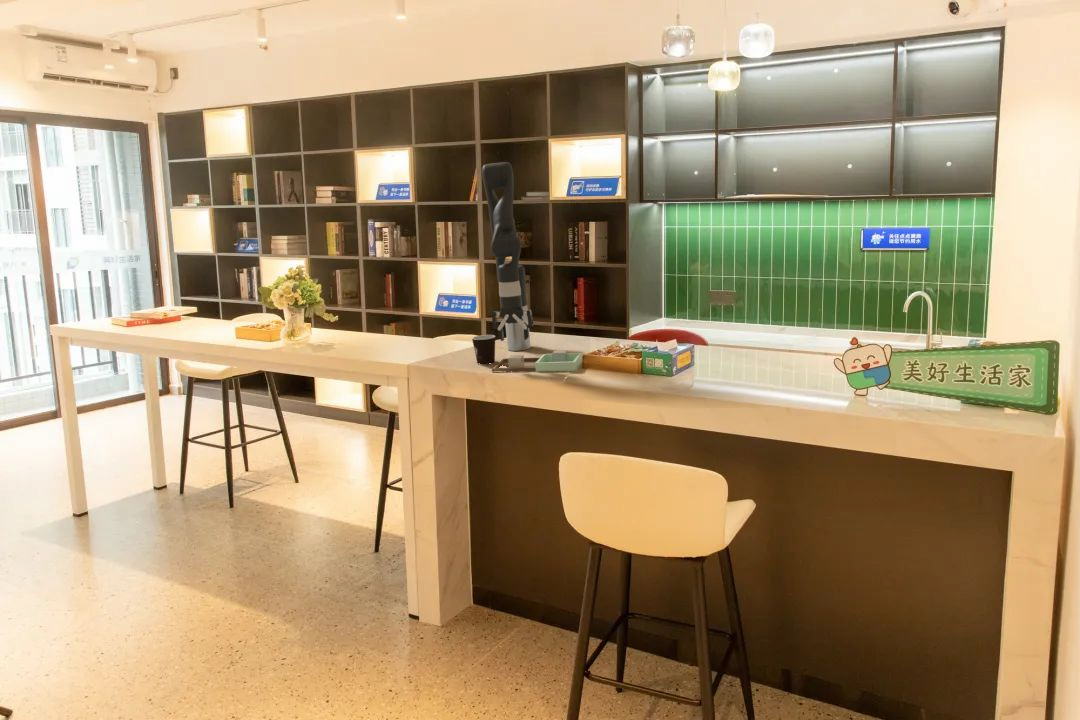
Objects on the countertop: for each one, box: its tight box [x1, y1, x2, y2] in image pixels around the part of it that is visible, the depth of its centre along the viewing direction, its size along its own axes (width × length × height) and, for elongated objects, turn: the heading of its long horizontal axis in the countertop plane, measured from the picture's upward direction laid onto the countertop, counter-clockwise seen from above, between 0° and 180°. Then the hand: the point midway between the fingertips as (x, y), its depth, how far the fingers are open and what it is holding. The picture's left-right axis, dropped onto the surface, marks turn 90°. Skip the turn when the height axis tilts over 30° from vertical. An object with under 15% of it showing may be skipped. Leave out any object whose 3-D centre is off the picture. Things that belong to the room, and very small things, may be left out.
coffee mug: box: [471, 334, 496, 365], centre depth 308 cm, size 12×9×10 cm
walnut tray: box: [491, 356, 541, 373], centre depth 297 cm, size 16×16×2 cm
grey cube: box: [551, 349, 568, 362], centre depth 294 cm, size 4×4×4 cm
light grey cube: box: [508, 354, 525, 368], centre depth 293 cm, size 4×4×4 cm
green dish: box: [535, 352, 583, 373], centre depth 291 cm, size 14×14×4 cm
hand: (514, 340), depth 291 cm, fingers open, 8 cm apart
